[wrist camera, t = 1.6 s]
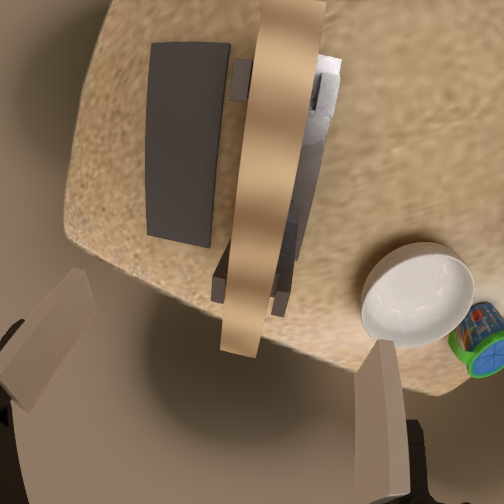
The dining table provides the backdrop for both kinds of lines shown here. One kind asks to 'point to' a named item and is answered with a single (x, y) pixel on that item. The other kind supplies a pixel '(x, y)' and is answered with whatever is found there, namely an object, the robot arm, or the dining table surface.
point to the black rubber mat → (183, 138)
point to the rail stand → (305, 176)
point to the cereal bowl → (416, 295)
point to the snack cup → (481, 341)
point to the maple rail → (269, 162)
